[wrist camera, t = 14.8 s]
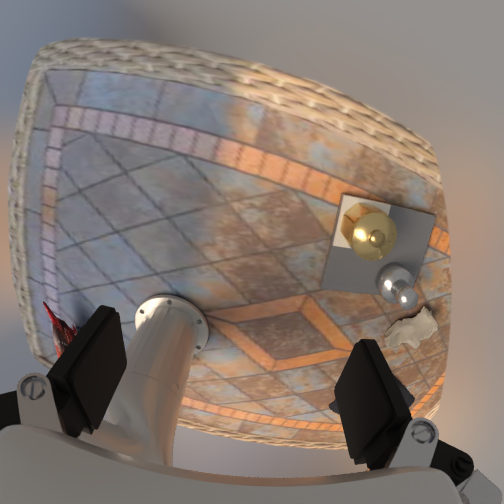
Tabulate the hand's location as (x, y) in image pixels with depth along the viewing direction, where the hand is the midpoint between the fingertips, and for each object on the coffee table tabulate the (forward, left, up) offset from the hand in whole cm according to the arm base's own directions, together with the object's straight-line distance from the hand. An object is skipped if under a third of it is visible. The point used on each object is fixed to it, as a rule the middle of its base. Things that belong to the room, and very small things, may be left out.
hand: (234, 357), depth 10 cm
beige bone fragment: (-17, -31, -29) cm, 46 cm away
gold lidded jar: (0, -15, -27) cm, 31 cm away
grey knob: (-8, -23, -27) cm, 37 cm away
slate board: (-4, -20, -28) cm, 35 cm away
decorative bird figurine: (-27, +31, -28) cm, 50 cm away
